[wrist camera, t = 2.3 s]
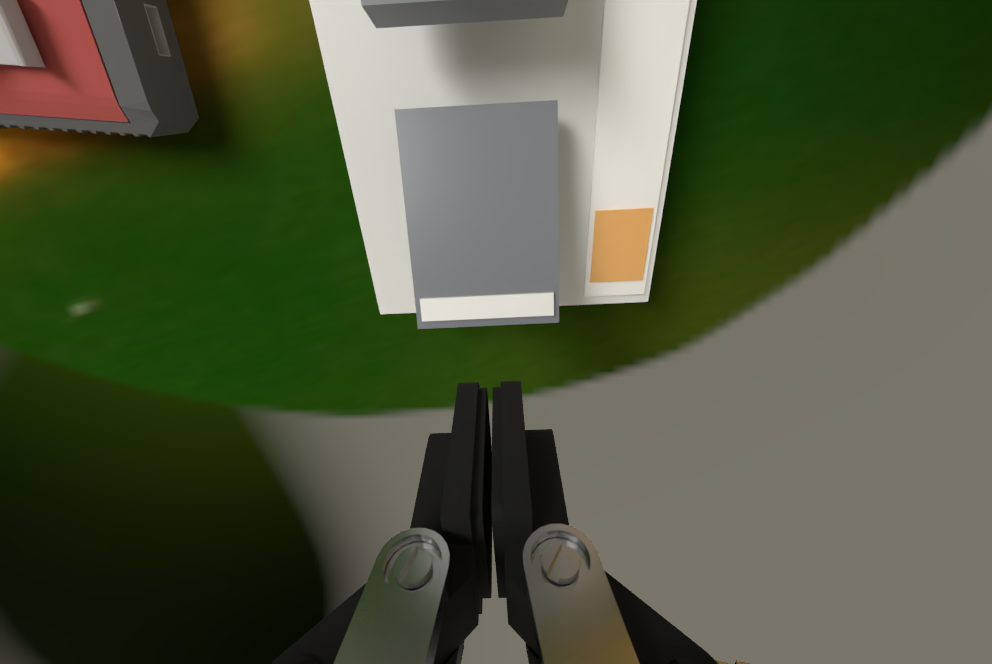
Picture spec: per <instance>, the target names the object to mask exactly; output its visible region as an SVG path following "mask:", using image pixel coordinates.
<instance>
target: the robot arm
mask: <svg viewBox="0 0 992 664" xmlns="http://www.w3.org/2000/svg"><path fill="white" fill-rule="evenodd" d="M492 422H493V423H492V426H493V427H492V448H491V435H490V422H489V409H488V396H487V388H479V383H459V384H458V388H457V396H456V403H455V410H454V418H453V425H452V433H437V434H430V436H429V439H428V444H427V448H426V453H425V458H424V463H423V468H422V473H421V478H420V483H419V488H418V493H417V498H416V503H415V508H414V513H413V518H412V523H411V527H410V529H408V530H406V531H402V532H400V533H399V534H397V535H396V536H394V537H393V538H391V539H390V540H389V541H388V542H387V543H386V544H385V546H384V547H383V548H382V550H381V552H380V553H379V555H378V557H377V559H376V561H375V564H374V566H373V569H372V571H371V573H370V576H369V578H368V581H367V583H366V584H365V585H363V586H362V587H361V588H360V589H359V590H357V591H356V592H355V593H354V594H353V595H352V596H350V597H349V598H348V599H347V600H346V601H344V602H343V603H342V604H341V605H340V606H338V607H337V608H336V609H335V610H334V611H333V612H331V613H330V614H329V615H328V616H327V617H325V618H324V619H323V620H322V621H321V622H319V623H318V624H317V625H316V626H315V627H313V628H312V629H311V630H310V631H309V632H307V633H306V634H305V635H304V636H303V637H302V638H300V639H299V640H298V641H297V642H296V643H295V644H293V645H292V646H291V647H290V648H288V649H287V650H286V651H285V652H284V653H283V654H282V655H280V656H279V657H278V658H277V659H275V660H274V661H273V662H272V663H271V664H461V661H462V656H463V650H464V640H465V639H466V637H467V636H468V635H469V634H470V633H471V632H472V631H473V630H474V629H475V627H476V626H477V625H478V616H479V615H478V614H482V598H491V586H492V585H491V584H492V582H491V580H492V528H493V539H494V551H495V562H496V573H497V584H498V596H499V598H507V610H508V611H507V612H508V624H509V625H510V626H511V627H512V628H513V629H514V630H515V631H516V632H517V634H518V635H519V636H520V637H521V638H522V639H523V640H524V641H525V642H526V651H527V657H528V662H529V664H729V663H724V662H721V661H717V660H714V659H713V658H712V657H711V656H710V655H709V654H708V653H707V652H706V651H704V650H703V649H702V648H701V647H700V646H698V645H697V644H696V643H695V642H693V641H692V640H691V639H690V638H688V637H687V636H686V635H684V634H683V633H682V632H681V631H680V630H678V629H677V628H676V627H675V626H673V625H672V624H671V623H670V622H668V621H667V620H666V619H664V618H663V617H662V616H661V615H659V614H658V613H657V612H656V611H654V610H653V609H652V608H651V607H649V606H648V605H647V604H646V603H644V602H643V601H642V600H641V599H639V598H638V597H637V596H636V595H634V594H633V593H632V592H631V591H629V590H628V589H627V588H626V587H624V586H623V585H622V584H621V583H619V582H618V581H617V580H616V579H614V578H613V577H612V576H610V575H609V574H608V573H607V572H606V571H604V569H603V566H602V564H601V561H600V558H599V556H598V553H597V551H596V549H595V547H594V545H593V544H592V542H591V540H590V539H589V538H588V537H587V536H586V535H585V534H584V533H583V532H581V531H579V530H578V529H576V528H574V527H572V526H569V523H568V517H567V512H566V505H565V500H564V494H563V488H562V482H561V476H560V470H559V464H558V458H557V453H556V447H555V441H554V435H553V431H552V429H547V430H525V426H524V415H523V402H522V391H521V381H503V382H501V387H493V419H492ZM735 664H749V663H745V662H741V661H737V660H736V662H735Z"/></svg>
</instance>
